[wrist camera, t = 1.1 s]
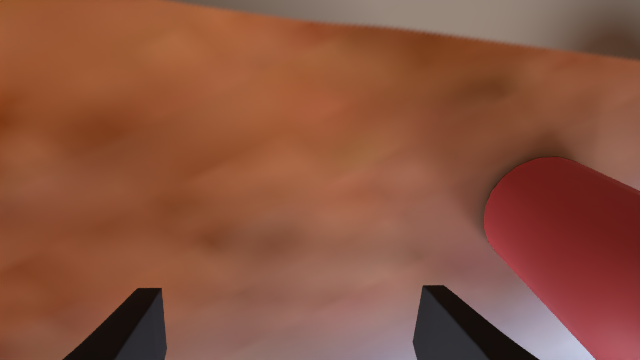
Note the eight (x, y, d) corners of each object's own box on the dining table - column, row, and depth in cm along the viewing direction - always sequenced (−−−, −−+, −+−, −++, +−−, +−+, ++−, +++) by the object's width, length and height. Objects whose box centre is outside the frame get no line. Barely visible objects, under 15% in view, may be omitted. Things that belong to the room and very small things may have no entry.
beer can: (568, 130, 24) (816, 220, 13) (607, 225, 26) (851, 374, 15) (460, 192, 25) (603, 328, 13) (505, 278, 27) (663, 461, 16)
